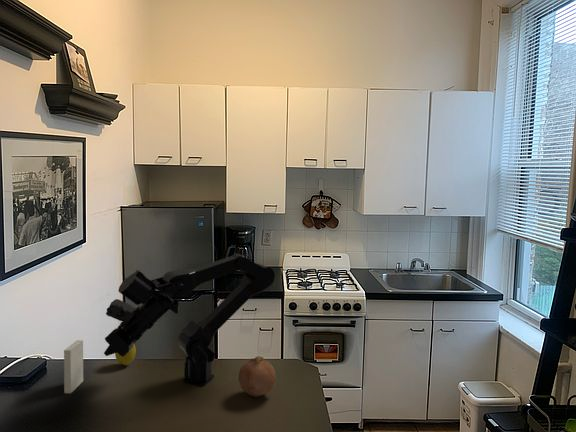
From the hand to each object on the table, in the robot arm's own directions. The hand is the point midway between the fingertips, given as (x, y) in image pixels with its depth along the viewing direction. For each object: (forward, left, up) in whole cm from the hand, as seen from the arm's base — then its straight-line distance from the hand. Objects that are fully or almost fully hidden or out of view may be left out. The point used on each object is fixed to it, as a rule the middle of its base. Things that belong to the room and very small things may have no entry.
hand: (105, 354), depth 116 cm
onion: (-37, -12, -9) cm, 40 cm away
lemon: (+5, -14, -9) cm, 17 cm away
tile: (+8, +2, -9) cm, 12 cm away
